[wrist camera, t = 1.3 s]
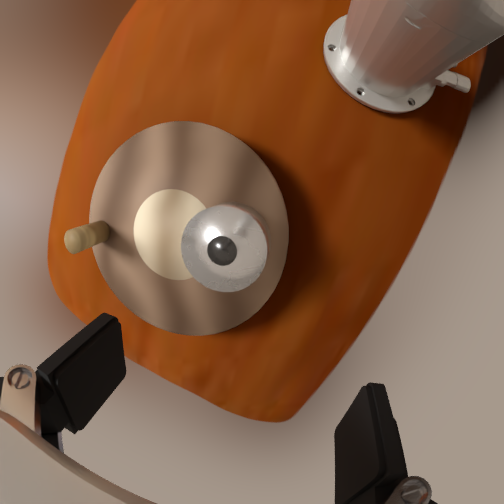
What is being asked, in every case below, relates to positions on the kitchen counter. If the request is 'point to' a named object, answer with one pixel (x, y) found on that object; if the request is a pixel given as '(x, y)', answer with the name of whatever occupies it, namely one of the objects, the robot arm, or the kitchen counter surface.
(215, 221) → the cover
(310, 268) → the kitchen counter surface
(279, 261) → the disc
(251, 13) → the kitchen counter surface
